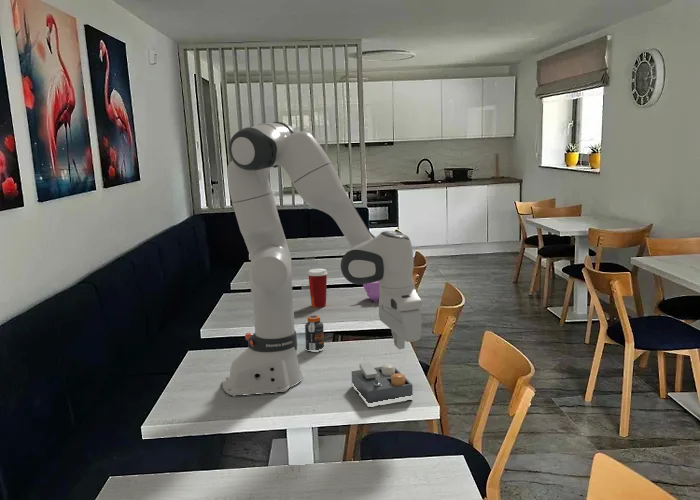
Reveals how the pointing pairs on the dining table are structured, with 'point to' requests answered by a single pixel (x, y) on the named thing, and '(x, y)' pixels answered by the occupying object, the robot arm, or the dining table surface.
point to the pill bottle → (314, 333)
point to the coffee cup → (318, 287)
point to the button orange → (397, 379)
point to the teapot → (372, 290)
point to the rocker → (368, 370)
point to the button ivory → (388, 369)
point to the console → (380, 386)
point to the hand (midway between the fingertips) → (399, 347)
